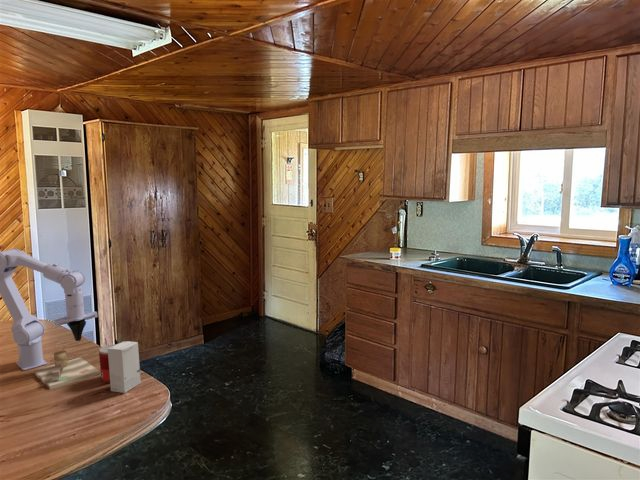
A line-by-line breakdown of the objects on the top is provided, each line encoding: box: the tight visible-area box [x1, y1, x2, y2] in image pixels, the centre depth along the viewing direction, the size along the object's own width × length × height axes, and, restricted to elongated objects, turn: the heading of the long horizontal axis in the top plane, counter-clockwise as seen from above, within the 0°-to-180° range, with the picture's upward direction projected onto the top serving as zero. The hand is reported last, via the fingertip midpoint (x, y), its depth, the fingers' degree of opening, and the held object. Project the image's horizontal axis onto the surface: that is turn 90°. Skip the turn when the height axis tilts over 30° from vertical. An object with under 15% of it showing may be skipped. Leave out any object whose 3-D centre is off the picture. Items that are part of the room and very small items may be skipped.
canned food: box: [98, 343, 117, 384], centre depth 162 cm, size 8×8×11 cm
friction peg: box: [52, 349, 68, 381], centre depth 165 cm, size 15×4×5 cm, turn 22°
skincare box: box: [108, 340, 142, 394], centre depth 155 cm, size 8×6×15 cm
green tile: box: [50, 376, 67, 382], centre depth 160 cm, size 5×3×1 cm, turn 114°
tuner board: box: [33, 356, 101, 390], centre depth 167 cm, size 18×16×1 cm
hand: (77, 340), depth 172 cm, fingers closed
